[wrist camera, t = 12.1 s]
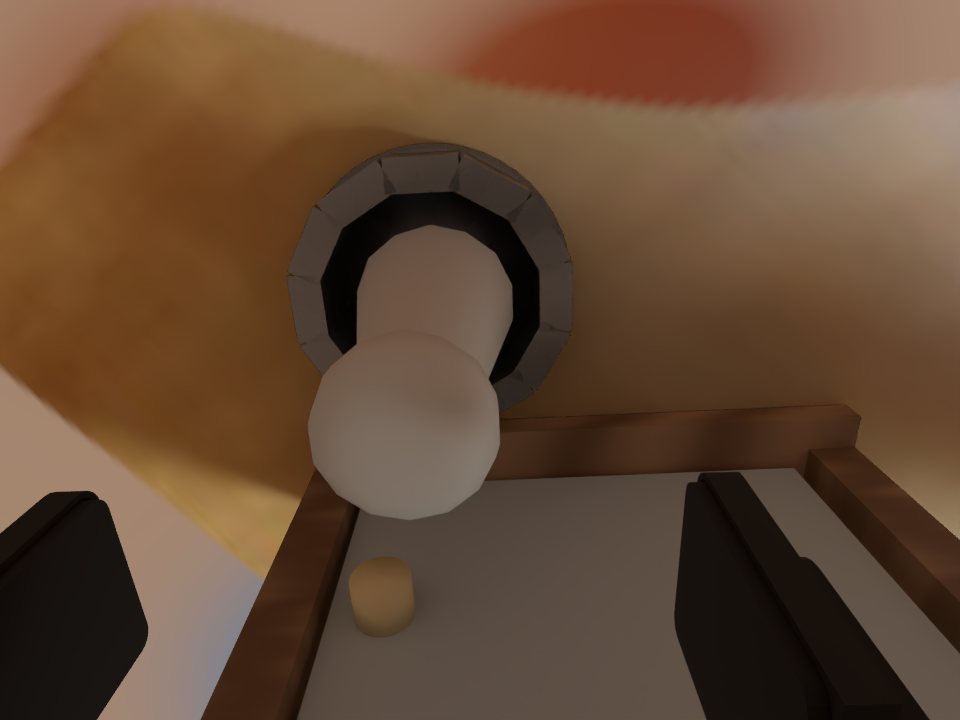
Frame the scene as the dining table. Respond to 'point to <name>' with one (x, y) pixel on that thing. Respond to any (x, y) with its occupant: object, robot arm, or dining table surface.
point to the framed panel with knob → (583, 453)
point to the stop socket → (445, 203)
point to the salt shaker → (416, 378)
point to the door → (571, 605)
